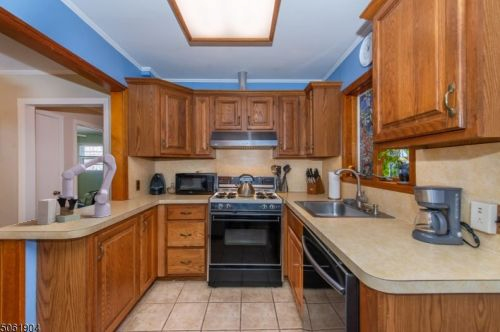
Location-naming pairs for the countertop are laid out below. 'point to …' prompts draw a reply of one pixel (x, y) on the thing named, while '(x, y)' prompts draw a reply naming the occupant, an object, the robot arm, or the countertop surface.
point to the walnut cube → (66, 211)
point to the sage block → (67, 218)
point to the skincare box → (46, 211)
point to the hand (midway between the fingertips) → (67, 209)
